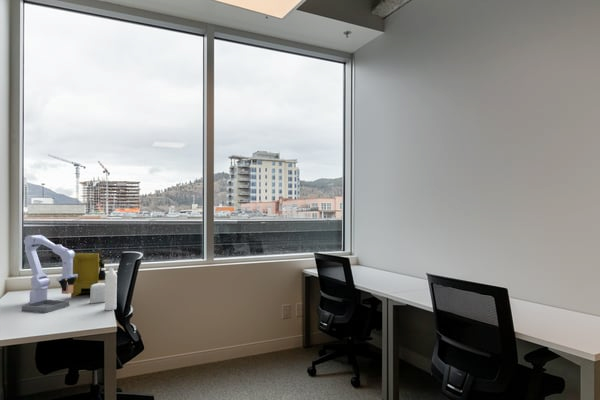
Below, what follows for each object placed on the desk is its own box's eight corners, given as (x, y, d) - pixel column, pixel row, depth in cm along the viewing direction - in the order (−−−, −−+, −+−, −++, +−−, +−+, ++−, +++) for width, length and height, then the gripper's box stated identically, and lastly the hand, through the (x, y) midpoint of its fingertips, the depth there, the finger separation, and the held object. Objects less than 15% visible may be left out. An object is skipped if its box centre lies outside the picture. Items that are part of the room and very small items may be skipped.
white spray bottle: (115, 307, 231) (116, 266, 232) (117, 309, 226) (118, 268, 226) (99, 309, 226) (100, 267, 227) (101, 311, 221) (102, 269, 221)
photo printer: (107, 300, 248) (107, 281, 248) (108, 301, 244) (108, 282, 245) (89, 302, 242) (90, 283, 243) (90, 304, 239) (90, 284, 239)
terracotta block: (61, 293, 239) (61, 285, 239) (66, 292, 243) (66, 284, 243) (67, 293, 238) (68, 286, 238) (73, 292, 242) (73, 284, 242)
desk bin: (21, 310, 222) (21, 305, 222) (45, 304, 237) (45, 299, 237) (46, 312, 217) (46, 307, 217) (69, 306, 233) (69, 301, 233)
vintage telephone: (118, 292, 272) (119, 251, 273) (109, 297, 258) (110, 253, 259) (74, 292, 271) (75, 251, 272) (63, 297, 257) (64, 253, 258)
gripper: (63, 271, 233) (62, 292, 233) (81, 267, 247) (81, 288, 247) (53, 270, 235) (53, 292, 234) (72, 267, 249) (72, 287, 248)
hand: (67, 290), depth 241 cm, fingers closed on terracotta block, 4 cm apart
